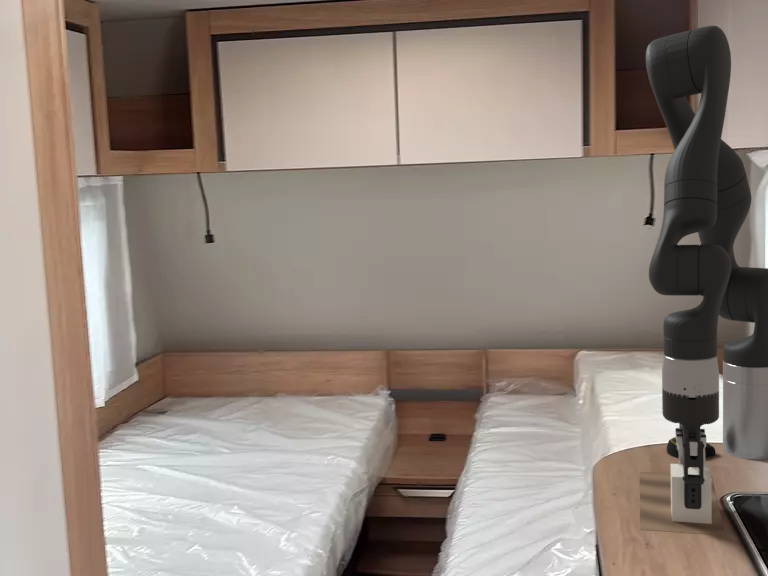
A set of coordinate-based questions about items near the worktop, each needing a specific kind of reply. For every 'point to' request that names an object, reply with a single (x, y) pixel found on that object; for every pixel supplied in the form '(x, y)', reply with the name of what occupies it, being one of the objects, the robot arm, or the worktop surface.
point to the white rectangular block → (677, 497)
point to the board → (659, 508)
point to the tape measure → (673, 451)
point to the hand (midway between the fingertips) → (690, 496)
